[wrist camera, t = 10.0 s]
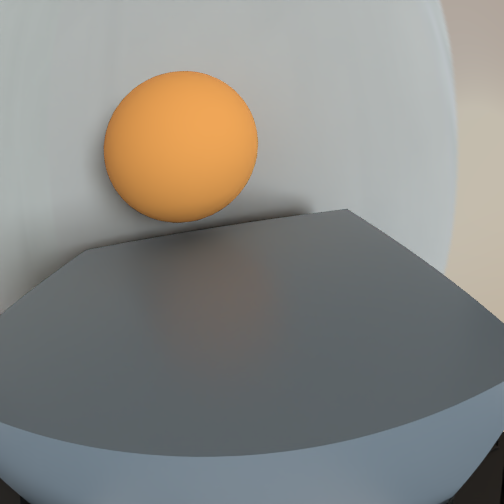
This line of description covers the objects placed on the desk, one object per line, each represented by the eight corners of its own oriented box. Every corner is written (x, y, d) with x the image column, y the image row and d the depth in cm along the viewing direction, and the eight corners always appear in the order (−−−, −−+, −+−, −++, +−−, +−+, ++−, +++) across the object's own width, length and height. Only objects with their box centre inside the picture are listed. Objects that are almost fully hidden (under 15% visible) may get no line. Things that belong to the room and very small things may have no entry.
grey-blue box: (346, 406, 14) (390, 553, 5) (158, 423, 14) (123, 561, 6) (346, 208, 10) (541, 358, 2) (85, 250, 11) (-75, 386, 2)
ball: (270, 180, 6) (240, 26, 7) (69, 220, 7) (84, 69, 7) (269, 222, 11) (250, 109, 12) (143, 242, 11) (139, 132, 12)
